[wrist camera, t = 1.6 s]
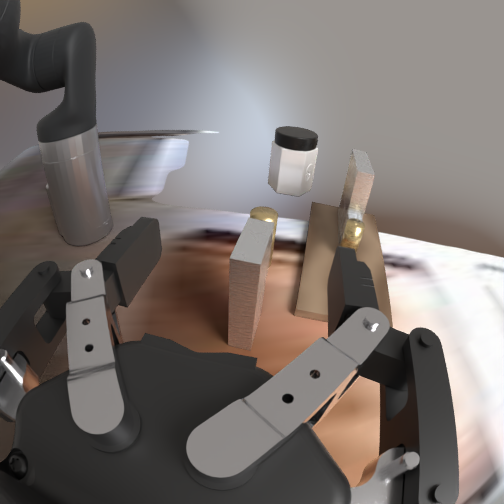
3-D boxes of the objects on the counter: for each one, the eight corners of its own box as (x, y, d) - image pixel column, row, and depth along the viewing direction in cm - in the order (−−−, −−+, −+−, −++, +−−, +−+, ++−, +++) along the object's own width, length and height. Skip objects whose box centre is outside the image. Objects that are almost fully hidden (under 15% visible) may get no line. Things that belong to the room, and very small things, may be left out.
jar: (293, 201, 55) (302, 141, 47) (260, 186, 59) (265, 129, 51) (316, 187, 61) (326, 134, 53) (285, 175, 64) (292, 124, 57)
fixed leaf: (337, 258, 41) (359, 182, 33) (337, 211, 51) (351, 148, 44) (354, 262, 40) (379, 186, 33) (351, 214, 51) (367, 152, 43)
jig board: (294, 315, 34) (296, 309, 33) (311, 207, 54) (312, 201, 53) (388, 332, 32) (392, 326, 31) (372, 220, 52) (374, 215, 51)
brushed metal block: (251, 350, 30) (262, 264, 22) (227, 345, 30) (228, 257, 22) (267, 294, 36) (279, 209, 29) (246, 289, 37) (253, 204, 29)
